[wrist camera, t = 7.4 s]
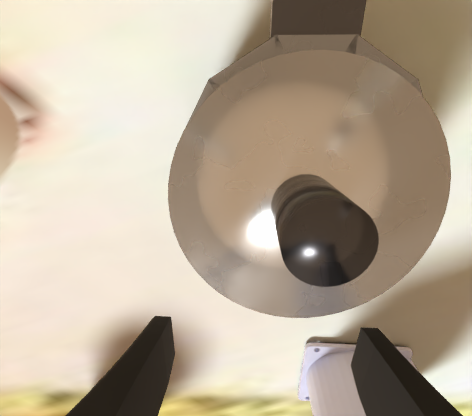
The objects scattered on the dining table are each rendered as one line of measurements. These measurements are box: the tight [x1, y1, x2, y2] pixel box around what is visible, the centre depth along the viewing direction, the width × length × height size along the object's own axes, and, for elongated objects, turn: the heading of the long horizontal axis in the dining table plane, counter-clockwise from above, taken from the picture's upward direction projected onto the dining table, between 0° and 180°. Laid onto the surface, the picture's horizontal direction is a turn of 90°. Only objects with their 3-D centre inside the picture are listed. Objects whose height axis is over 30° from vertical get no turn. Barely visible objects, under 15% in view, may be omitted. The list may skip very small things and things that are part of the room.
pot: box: [187, 0, 423, 125], centre depth 15 cm, size 12×16×5 cm
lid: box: [168, 50, 451, 318], centre depth 11 cm, size 13×13×6 cm
